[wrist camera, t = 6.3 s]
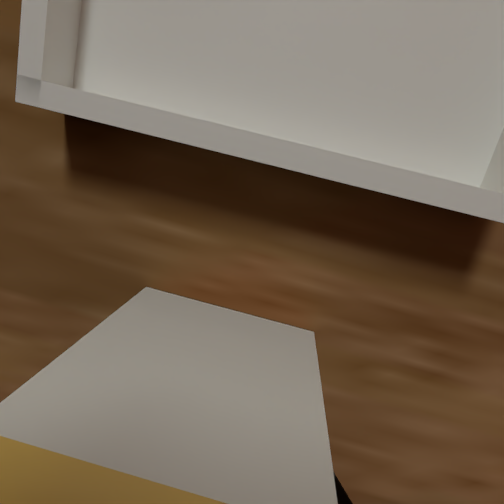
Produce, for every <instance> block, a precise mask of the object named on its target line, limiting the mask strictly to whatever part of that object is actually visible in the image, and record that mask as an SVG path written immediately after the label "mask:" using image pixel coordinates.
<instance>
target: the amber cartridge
mask: <svg viewBox="0 0 504 504" xmlns="http://www.w3.org/2000/svg"><path fill="white" fill-rule="evenodd" d="M0 504H338V502H337V495H336V488H335V480H334V473H333V466H332V459H331V452H330V445H329V437H328V430H327V423H326V416H325V409H324V402H323V394H322V387H321V380H320V373H319V366H318V358H317V351H316V344H315V337H314V332H312V331H308V330H305V329H301V328H297V327H293V326H290V325H286V324H282V323H279V322H275V321H271V320H267V319H264V318H260V317H256V316H253V315H249V314H245V313H241V312H238V311H234V310H230V309H226V308H223V307H219V306H215V305H212V304H208V303H204V302H200V301H197V300H193V299H189V298H185V297H182V296H178V295H174V294H171V293H167V292H163V291H159V290H156V289H152V288H148V287H146V288H144V289H143V290H142V291H141V292H139V293H138V294H137V295H135V296H134V297H133V298H132V299H130V300H129V301H128V302H127V303H125V304H124V305H123V306H122V307H120V308H119V309H118V310H117V311H115V312H114V313H113V314H112V315H110V316H109V317H108V318H107V319H105V320H104V321H103V322H101V323H100V324H99V325H98V326H96V327H95V328H94V329H93V330H91V331H90V332H89V333H88V334H86V335H85V336H84V337H83V338H81V339H80V340H79V341H78V342H76V343H75V344H74V345H73V346H71V347H70V348H69V349H68V350H66V351H65V352H64V353H62V354H61V355H60V356H59V357H57V358H56V359H55V360H54V361H52V362H51V363H50V364H49V365H47V366H46V367H45V368H44V369H42V370H41V371H40V372H39V373H37V374H36V375H35V376H34V377H32V378H31V379H30V380H28V381H27V382H26V383H25V384H23V385H22V386H21V387H20V388H18V389H17V390H16V391H15V392H13V393H12V394H11V395H10V396H8V397H7V398H6V399H5V400H3V401H2V402H1V403H0Z"/></svg>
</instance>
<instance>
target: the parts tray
mask: <svg viewBox="0 0 504 504" xmlns="http://www.w3.org/2000/svg"><path fill="white" fill-rule="evenodd" d="M15 102H19V103H23V104H27V105H31V106H35V107H39V108H43V109H47V110H51V111H55V112H59V113H63V114H67V115H71V116H75V117H79V118H83V119H87V120H91V121H95V122H99V123H103V124H107V125H111V126H115V127H119V128H123V129H127V130H131V131H135V132H139V133H143V134H147V135H151V136H155V137H159V138H163V139H167V140H171V141H175V142H179V143H183V144H187V145H191V146H195V147H199V148H203V149H207V150H211V151H215V152H219V153H223V154H227V155H231V156H235V157H240V158H244V159H248V160H252V161H256V162H260V163H264V164H268V165H272V166H276V167H280V168H284V169H288V170H292V171H296V172H300V173H304V174H308V175H312V176H316V177H320V178H324V179H328V180H332V181H336V182H340V183H344V184H348V185H352V186H356V187H360V188H364V189H368V190H372V191H376V192H380V193H384V194H388V195H392V196H396V197H400V198H404V199H408V200H412V201H416V202H420V203H424V204H428V205H432V206H436V207H440V208H445V209H449V210H453V211H457V212H461V213H465V214H469V215H473V216H477V217H481V218H485V219H489V220H493V221H497V222H501V223H504V0H22V9H21V23H20V38H19V53H18V68H17V82H16V97H15Z"/></svg>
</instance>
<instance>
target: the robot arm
mask: <svg viewBox="0 0 504 504" xmlns="http://www.w3.org/2000/svg"><path fill="white" fill-rule="evenodd" d="M333 473H334V472H333ZM334 480H335V488H336V495H337V502H338V504H352V502H351V500H350V499H349V497H348V495H347V494H346V492H345V490H344V489H343V487H342V485H341V483H340V482H339V480H338V478H337V477H336V475H335V473H334Z"/></svg>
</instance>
